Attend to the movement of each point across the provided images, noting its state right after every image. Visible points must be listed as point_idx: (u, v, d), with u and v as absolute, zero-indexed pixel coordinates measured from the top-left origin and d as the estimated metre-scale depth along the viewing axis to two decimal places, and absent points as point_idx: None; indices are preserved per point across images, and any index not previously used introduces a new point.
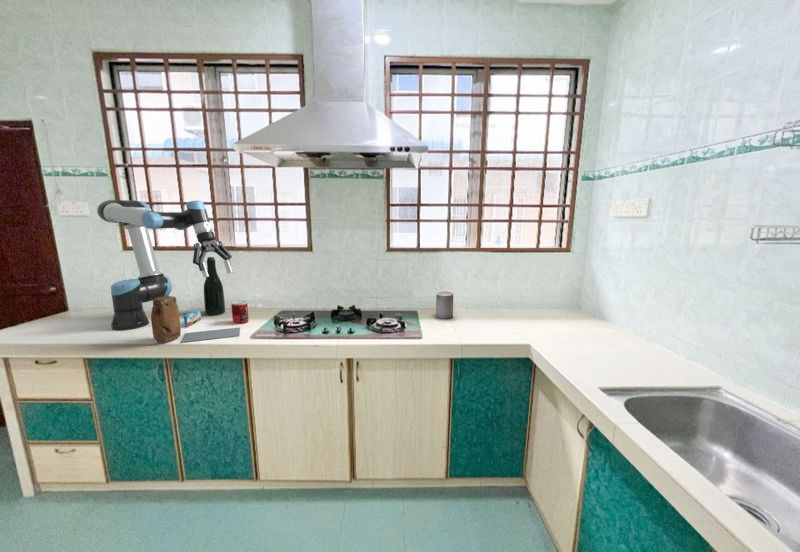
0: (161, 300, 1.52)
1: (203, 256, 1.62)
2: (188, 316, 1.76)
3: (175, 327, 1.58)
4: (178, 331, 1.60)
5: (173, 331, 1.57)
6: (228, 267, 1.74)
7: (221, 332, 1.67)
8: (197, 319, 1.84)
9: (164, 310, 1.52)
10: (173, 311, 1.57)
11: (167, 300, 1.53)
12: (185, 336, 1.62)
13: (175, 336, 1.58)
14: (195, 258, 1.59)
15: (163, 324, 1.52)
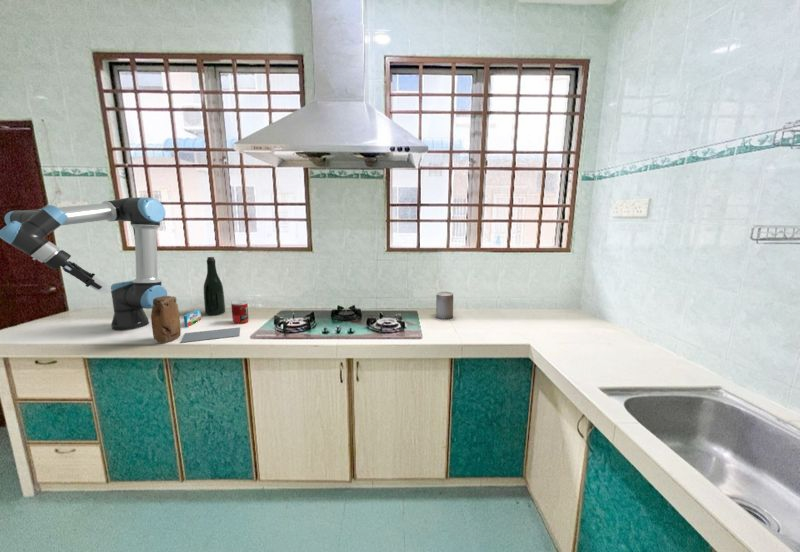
0: (161, 300, 1.52)
1: None
2: (188, 316, 1.77)
3: (175, 327, 1.58)
4: (178, 331, 1.60)
5: (173, 331, 1.57)
6: None
7: (221, 332, 1.67)
8: (197, 319, 1.84)
9: (164, 310, 1.52)
10: (173, 311, 1.57)
11: (167, 300, 1.53)
12: (185, 336, 1.62)
13: (175, 336, 1.58)
14: None
15: (163, 324, 1.52)
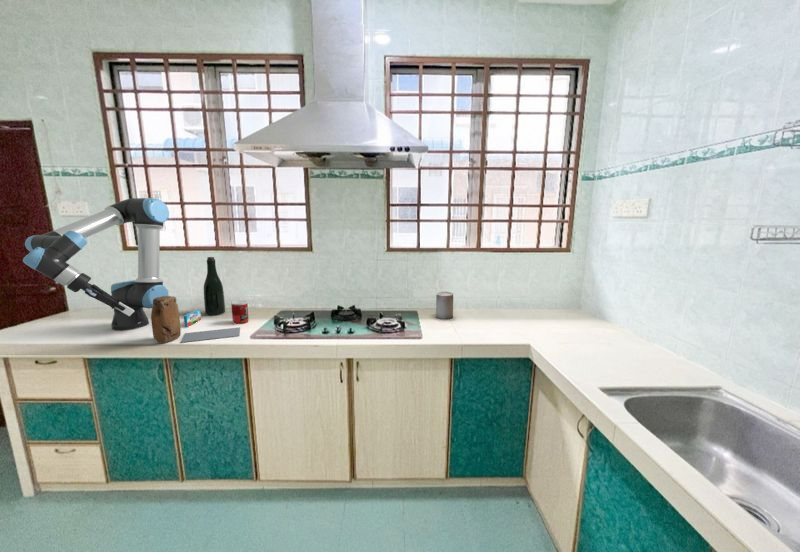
0: (161, 300, 1.52)
1: None
2: (188, 316, 1.77)
3: (175, 327, 1.58)
4: (178, 331, 1.60)
5: (173, 331, 1.57)
6: None
7: (221, 332, 1.67)
8: (197, 319, 1.84)
9: (164, 310, 1.52)
10: (173, 311, 1.57)
11: (167, 300, 1.53)
12: (185, 336, 1.62)
13: (175, 336, 1.58)
14: None
15: (163, 324, 1.52)
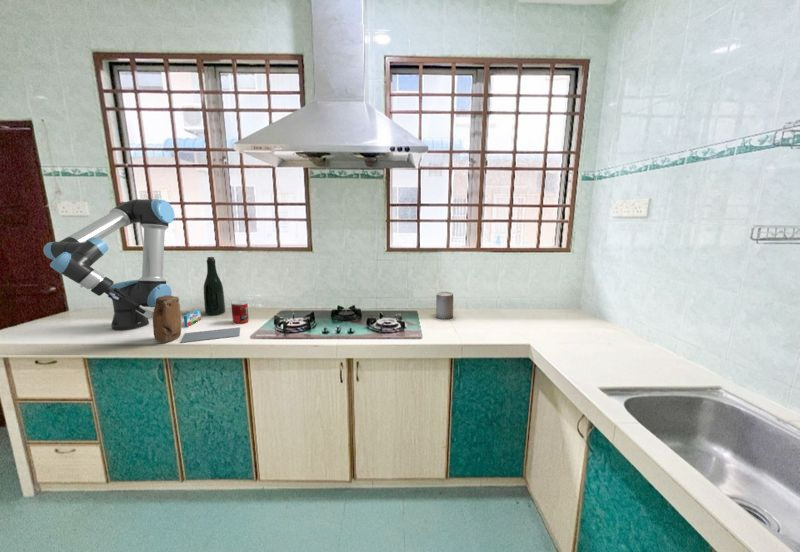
0: (164, 300, 1.52)
1: None
2: (188, 316, 1.77)
3: (176, 327, 1.58)
4: (178, 331, 1.60)
5: (174, 331, 1.57)
6: None
7: (221, 332, 1.67)
8: (197, 319, 1.84)
9: (167, 310, 1.52)
10: (175, 311, 1.57)
11: (170, 300, 1.53)
12: (185, 336, 1.62)
13: (175, 336, 1.58)
14: None
15: (165, 324, 1.52)
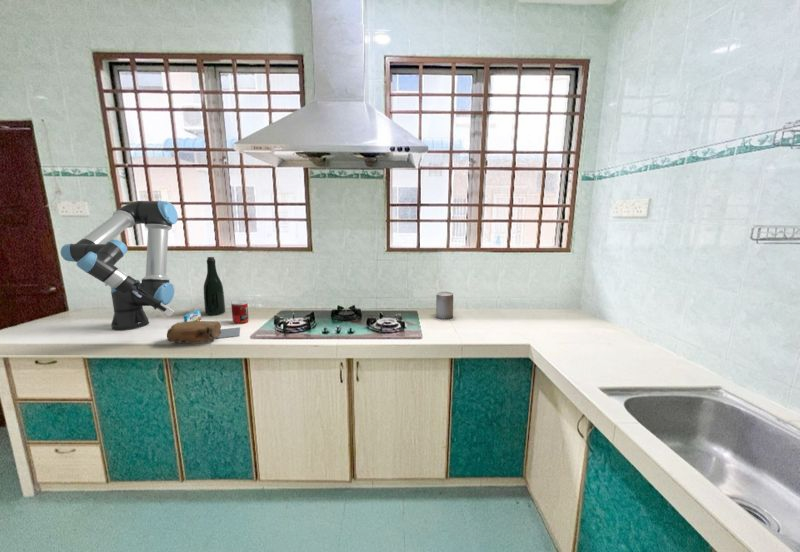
0: (212, 336, 1.54)
1: None
2: (188, 316, 1.77)
3: None
4: None
5: None
6: None
7: (221, 332, 1.67)
8: (197, 319, 1.84)
9: None
10: None
11: None
12: None
13: None
14: None
15: (187, 341, 1.52)
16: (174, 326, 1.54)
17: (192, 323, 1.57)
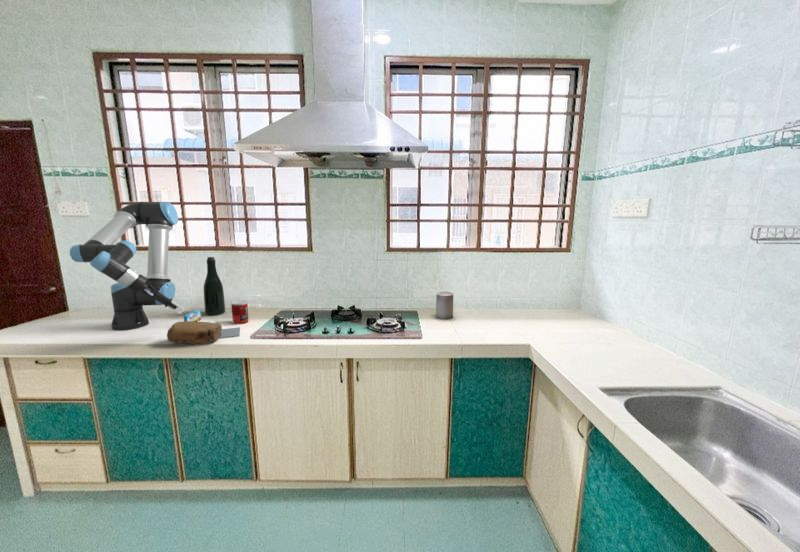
0: (213, 339, 1.54)
1: None
2: (188, 316, 1.77)
3: None
4: None
5: None
6: None
7: (221, 332, 1.67)
8: (197, 319, 1.84)
9: (202, 343, 1.53)
10: None
11: (214, 341, 1.56)
12: None
13: None
14: None
15: (187, 342, 1.52)
16: (175, 326, 1.54)
17: (193, 323, 1.57)
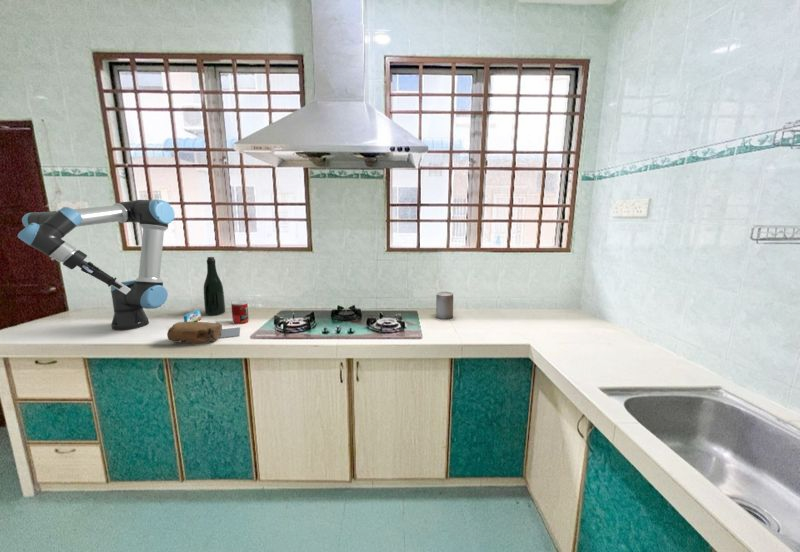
0: (213, 338, 1.54)
1: None
2: (188, 316, 1.77)
3: None
4: None
5: None
6: None
7: (221, 332, 1.67)
8: (197, 319, 1.84)
9: (202, 342, 1.53)
10: None
11: (214, 340, 1.56)
12: None
13: None
14: None
15: (187, 341, 1.52)
16: (175, 325, 1.54)
17: (193, 323, 1.58)
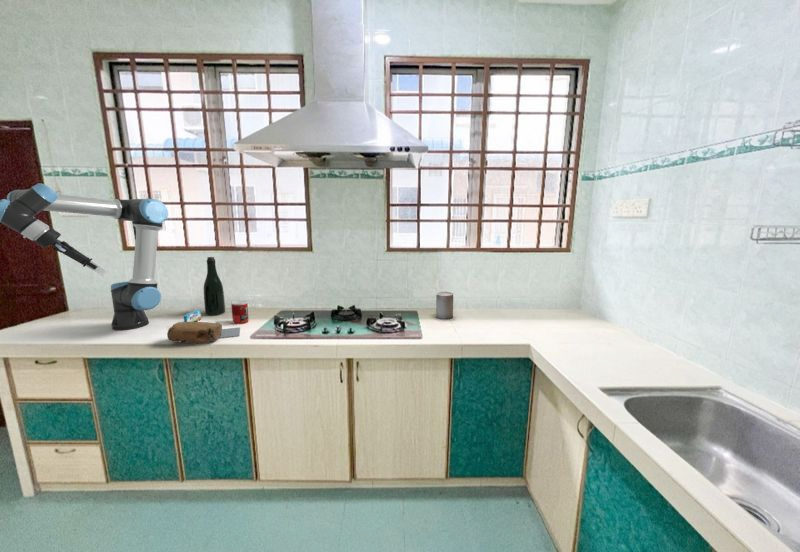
0: (213, 338, 1.54)
1: None
2: (188, 316, 1.77)
3: None
4: None
5: None
6: None
7: (221, 332, 1.67)
8: (197, 319, 1.84)
9: (202, 342, 1.53)
10: None
11: (214, 340, 1.56)
12: None
13: None
14: None
15: (187, 341, 1.52)
16: (175, 325, 1.54)
17: (193, 323, 1.58)
